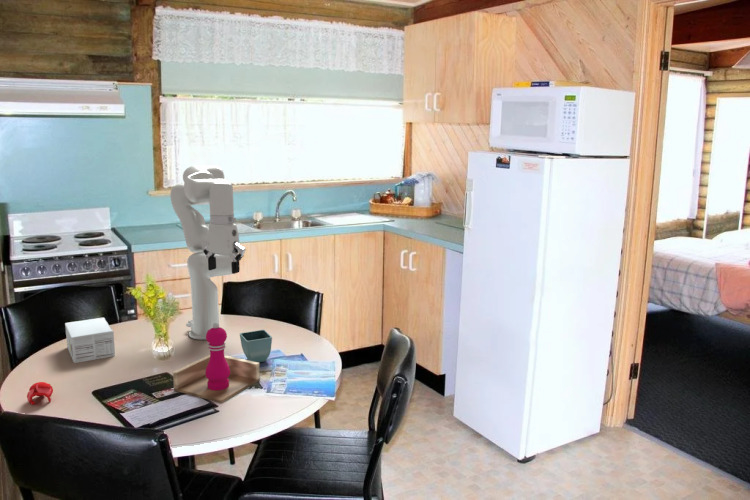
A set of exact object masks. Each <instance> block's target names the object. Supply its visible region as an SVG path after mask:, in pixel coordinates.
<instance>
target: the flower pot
mask: <svg viewBox="0 0 750 500" xmlns="http://www.w3.org/2000/svg"><path fill="white" fill-rule="evenodd" d="M239 338H240V345H241V348H242V351H243V354H244V356H245V357H246V358H247V359H246V360H249V361H253V362H258V363H263V362H266V361H267V360H268V358H269V357H270V354H271V350H272V342H273V337H272V335H270V333H268V331H266V330H265V329H259V330H252V331H246V332H240V333H239Z"/></svg>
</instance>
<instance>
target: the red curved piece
mask: <svg viewBox="0 0 750 500" xmlns="http://www.w3.org/2000/svg"><path fill="white" fill-rule="evenodd" d="M28 389H29V390H28V392H27V394H26V397H27V401H28V403H30V405H32V406H33V405H35V404H36V403H35V401H34V400H33V398H34V397H46V398H47V400H48V403H51V402H52V398H51V397H52V395H53V393H54V388H53V386H52V385H51V384H50V383H48V382H45V381H39V382H35V383H33V384H32V385H31V386H29V388H28Z"/></svg>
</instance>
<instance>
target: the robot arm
mask: <svg viewBox="0 0 750 500" xmlns="http://www.w3.org/2000/svg"><path fill="white" fill-rule="evenodd" d="M182 173H183V174H182V180H183V182H184V183H178V184H176V185H173V186H172V188H171V189H170V194H169V195H170V202H171V205H172V209H173V210H174V213H175V214H176V216H177V217H178V219H179V221H180V223H181V226H182V231H183V235H184V240H185V243H186V247H187V249H188V250H189V252H192V254H190V255H189V256H188V258H187V261H186V262H187V263H186V264H187V269H188V275H189V280H190V290H191V291H190V292H191V293H190V294H191V312H192V313H191V315H192V320H191V319H189V320H188V321H187V322H186V325H185V326H186V327H188V328H190V330H189V332H188V336H189V338H191V339H193V340H198V341H200V340H201V341H207V340H206V334H207V331H208V330H209V329H211V328H213V324H214V323H218V324H219V325H220V313H219V311H220V310H219V308H220V307H219V289H218V286H217V284H216V283H215V282H213V281H212V279H211V278H214V277H215V278H216V277H225V276H230V275H236V274H238V273H240V261H241V260H242V258H243V257H244V255H245V252H246V248H245V247H244V246H242V245H240V236H239V231H238V226H237V224H236V223H235V222H236V221H237V218H236V217H235V215H234V214H235V213H234V210H235V209H234V206H235V205H234V187H233V186H234V185H233V184H232V182H230V181H229V180H228V179H225V174H224V170H223V169H222V168H221V167H220V166H219V165H192V166H189V167H187V168H186V169H185V170H184V171H183V172H182ZM200 205H202V206H203V205H209V223H208V225H206V221H205V218H204V215H202V213H201V212H200V211H198V210H197V208H194V207H193V206H200Z"/></svg>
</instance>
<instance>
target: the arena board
mask: <svg viewBox="0 0 750 500" xmlns="http://www.w3.org/2000/svg"><path fill="white" fill-rule="evenodd" d="M227 379H229V386H228V387H227V388H226V389H223V390H217V391H215V390H210V389H209V388H208V384H207V382H208V379H207V377H206V375H204V376H202V377H200V378H198V379H196V380H194V381H192V382H190V383H188V384H186V385H184V386H182V387H180V388H178V389H176V388H174V387H173V391H176V392H178V393H182V394H186V395H191V396H193V397H198V398H200V399H201V398H202V399H205V400H209V401H213V402H217V403H221V404H222V403H224V402H226V401H227V400H229V399H231V398H233V397H234V396H236V395H237V394H239V393H241V392H243V391H245V390H246V389H248V388H249V387H251V386H253V385H254V384H257V383H258V382H259V381H260V380H261V378H259V379H257V380H256V379H252V378H247V377H243V376H239V375H235V374H230V375H229V377H228V378H227Z"/></svg>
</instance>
